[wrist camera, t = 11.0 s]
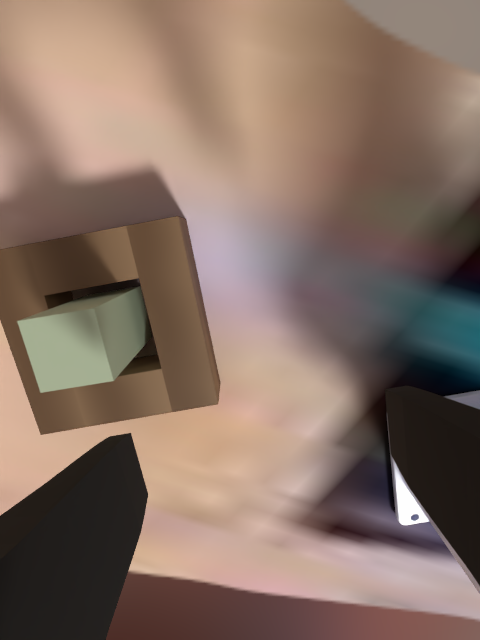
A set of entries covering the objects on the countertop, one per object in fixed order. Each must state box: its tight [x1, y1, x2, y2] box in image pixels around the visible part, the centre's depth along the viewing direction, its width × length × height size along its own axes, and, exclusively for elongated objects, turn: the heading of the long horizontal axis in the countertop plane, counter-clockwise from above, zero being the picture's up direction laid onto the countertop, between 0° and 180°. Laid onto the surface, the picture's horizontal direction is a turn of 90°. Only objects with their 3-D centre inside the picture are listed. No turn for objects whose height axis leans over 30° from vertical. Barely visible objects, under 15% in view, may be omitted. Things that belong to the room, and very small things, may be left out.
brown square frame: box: [0, 216, 220, 435], centre depth 17 cm, size 9×9×2 cm
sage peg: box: [17, 286, 152, 393], centre depth 15 cm, size 3×3×6 cm
